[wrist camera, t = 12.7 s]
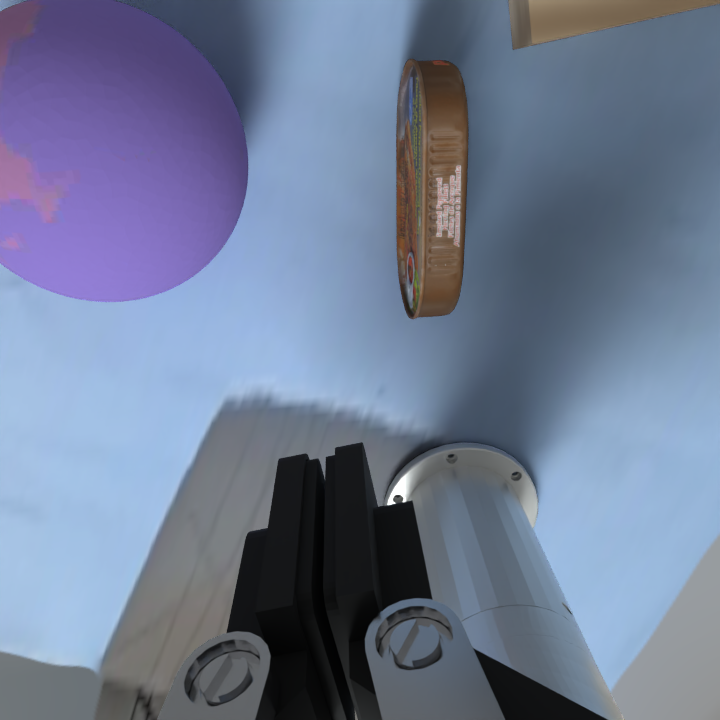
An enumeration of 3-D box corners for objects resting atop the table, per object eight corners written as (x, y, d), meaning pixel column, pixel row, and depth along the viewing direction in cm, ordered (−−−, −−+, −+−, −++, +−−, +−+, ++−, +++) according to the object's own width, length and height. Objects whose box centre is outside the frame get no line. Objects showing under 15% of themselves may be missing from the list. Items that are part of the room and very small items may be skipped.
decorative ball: (8, 0, 36) (-193, -62, 22) (267, 32, 37) (228, -9, 23) (33, 253, 42) (-115, 328, 28) (257, 273, 43) (220, 355, 29)
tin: (396, 63, 38) (412, 53, 30) (446, 62, 38) (475, 52, 31) (396, 296, 44) (409, 338, 36) (440, 295, 44) (462, 336, 36)
